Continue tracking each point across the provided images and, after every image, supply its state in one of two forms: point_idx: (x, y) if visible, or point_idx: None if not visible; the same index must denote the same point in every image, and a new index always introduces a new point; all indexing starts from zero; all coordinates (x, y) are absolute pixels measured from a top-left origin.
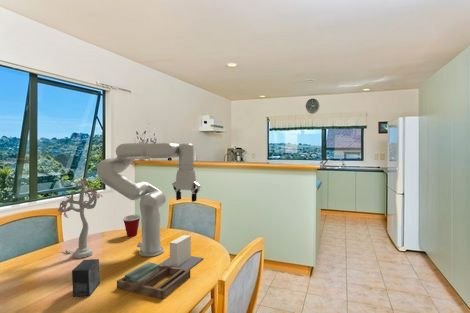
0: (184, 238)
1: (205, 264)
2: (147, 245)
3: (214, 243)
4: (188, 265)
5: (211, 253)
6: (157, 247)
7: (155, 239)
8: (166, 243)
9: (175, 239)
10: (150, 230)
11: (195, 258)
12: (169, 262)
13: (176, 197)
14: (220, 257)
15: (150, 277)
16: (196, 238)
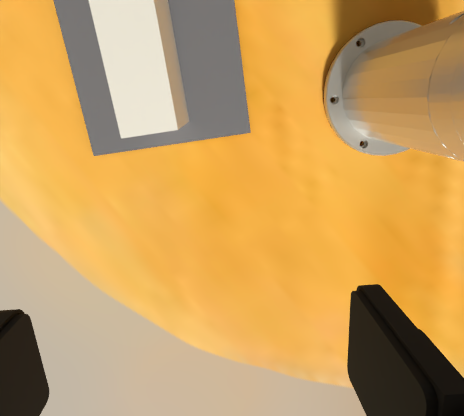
0: (113, 65)
1: (42, 106)
2: (399, 34)
3: (184, 333)
4: (88, 38)
5: (112, 229)
6: (351, 87)
7: (377, 70)
8: (394, 226)
9: (153, 10)
10: (438, 28)
11: None
12: (198, 18)
13: (395, 308)
14: (43, 210)
15: None
16: (302, 344)
